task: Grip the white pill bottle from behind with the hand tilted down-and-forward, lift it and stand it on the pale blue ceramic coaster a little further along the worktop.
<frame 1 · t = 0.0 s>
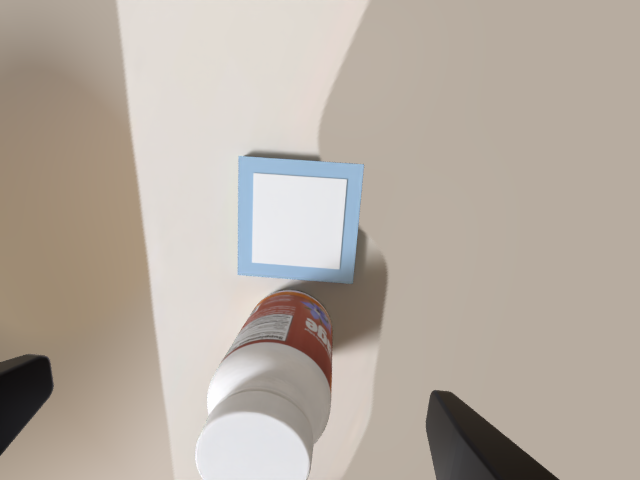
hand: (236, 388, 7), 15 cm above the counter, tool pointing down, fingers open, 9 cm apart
pill bottle: (291, 324, 23), on the counter
coaster: (299, 220, 21), on the counter
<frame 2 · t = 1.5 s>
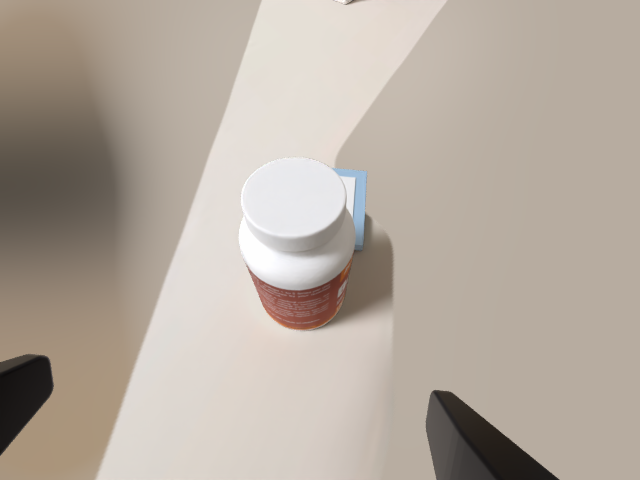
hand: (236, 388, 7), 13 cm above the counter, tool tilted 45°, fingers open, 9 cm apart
pill bottle: (303, 292, 23), on the counter
coaster: (318, 206, 27), on the counter
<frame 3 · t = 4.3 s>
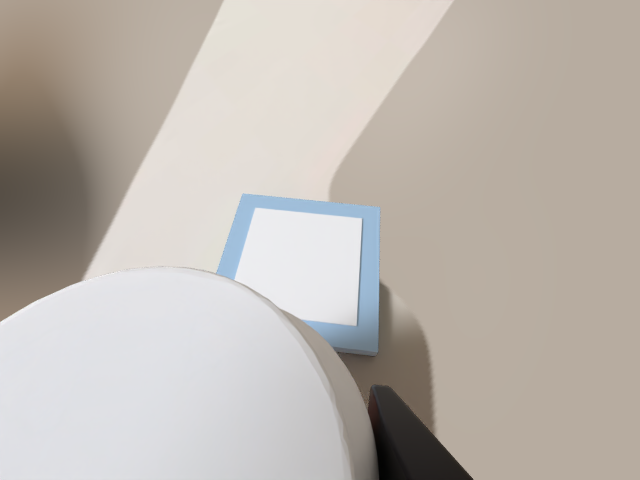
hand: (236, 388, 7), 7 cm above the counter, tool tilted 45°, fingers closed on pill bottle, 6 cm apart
pill bottle: (266, 449, 12), on the counter, touching gripper
coaster: (300, 268, 16), on the counter
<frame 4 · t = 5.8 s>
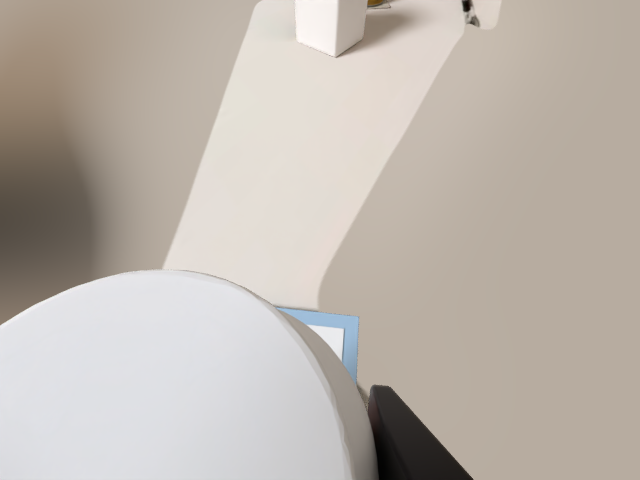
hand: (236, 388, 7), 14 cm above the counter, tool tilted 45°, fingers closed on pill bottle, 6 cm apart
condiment: (360, 1, 53), on the counter
medicine bottle: (329, 42, 45), on the counter
pill bottle: (265, 449, 12), point 7 cm above the counter, touching gripper
coaster: (294, 372, 20), on the counter
when the fingers open (8 cm above the counter, at t = 7.5 s): pill bottle stays where it is, resting on coaster.
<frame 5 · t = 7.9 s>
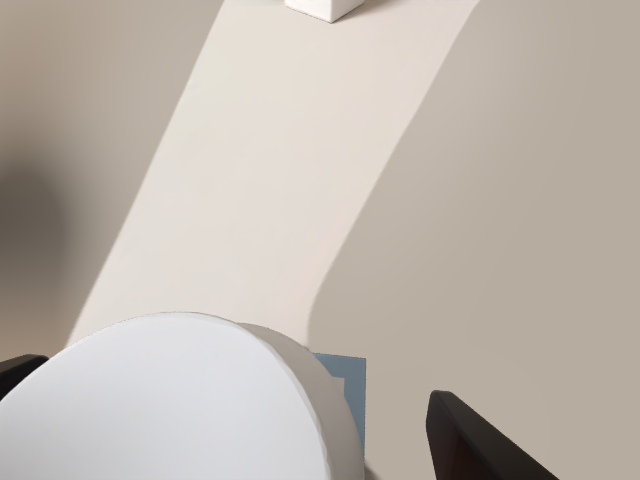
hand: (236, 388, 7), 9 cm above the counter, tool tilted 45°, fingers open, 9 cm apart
medicine bottle: (324, 7, 38), on the counter
pill bottle: (267, 453, 13), point 1 cm above the counter, touching coaster
coaster: (271, 446, 14), on the counter
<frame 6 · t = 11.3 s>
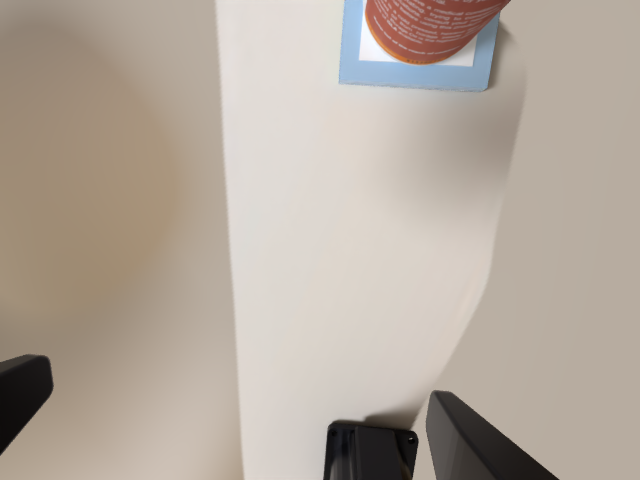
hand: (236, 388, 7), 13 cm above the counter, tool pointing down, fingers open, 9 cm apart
pill bottle: (420, 5, 16), point 1 cm above the counter, touching coaster
coaster: (418, 7, 17), on the counter
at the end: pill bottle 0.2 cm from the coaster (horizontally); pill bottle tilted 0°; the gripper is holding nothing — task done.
